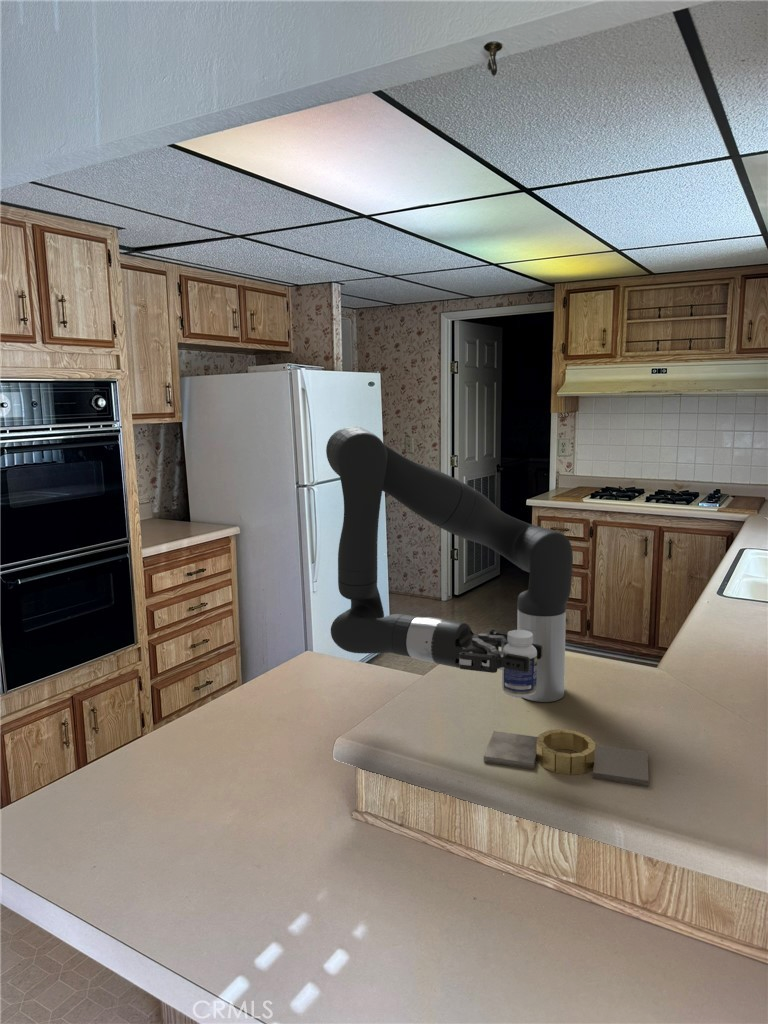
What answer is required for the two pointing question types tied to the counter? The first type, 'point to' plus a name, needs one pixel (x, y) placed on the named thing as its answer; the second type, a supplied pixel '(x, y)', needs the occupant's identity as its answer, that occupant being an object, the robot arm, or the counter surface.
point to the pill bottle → (517, 680)
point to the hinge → (568, 756)
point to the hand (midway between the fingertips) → (535, 658)
